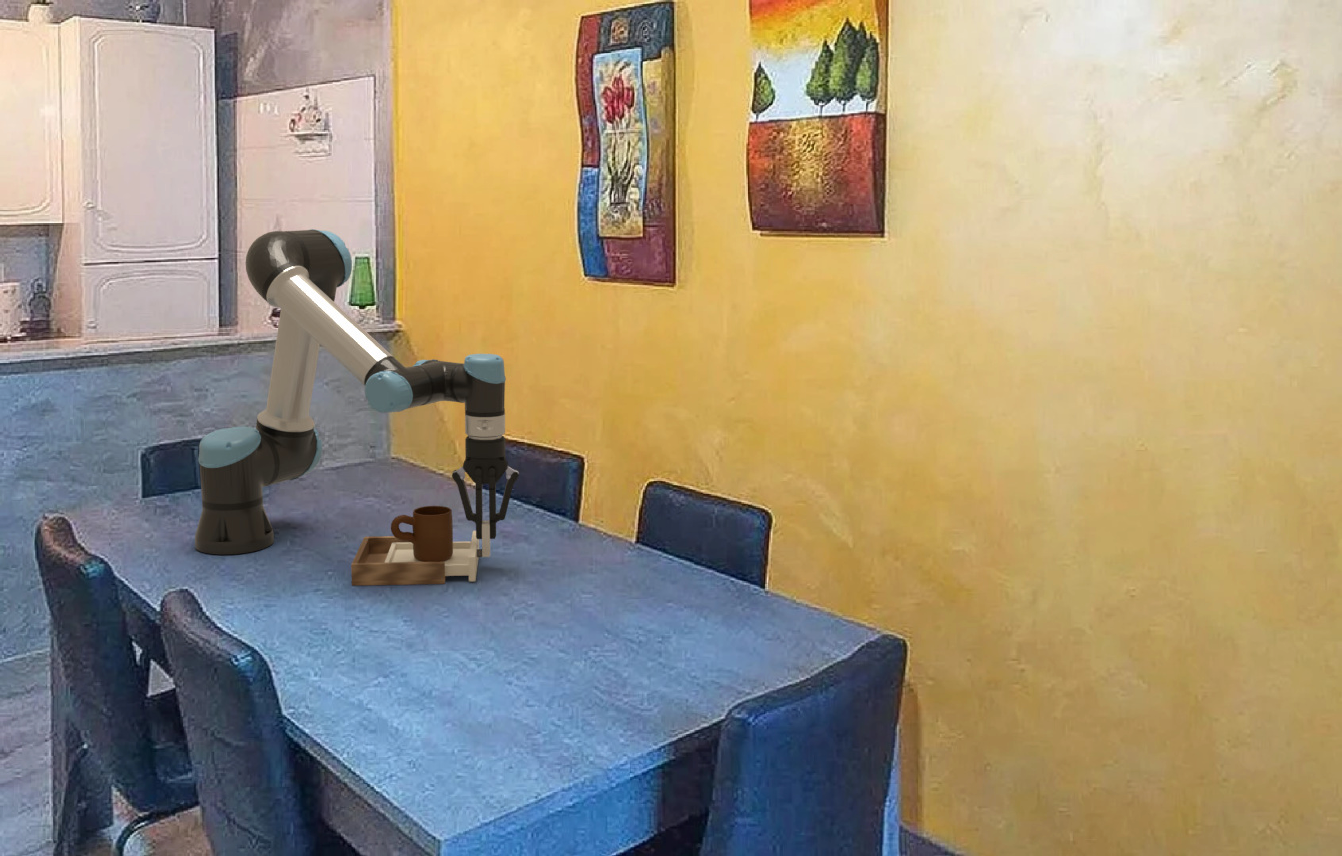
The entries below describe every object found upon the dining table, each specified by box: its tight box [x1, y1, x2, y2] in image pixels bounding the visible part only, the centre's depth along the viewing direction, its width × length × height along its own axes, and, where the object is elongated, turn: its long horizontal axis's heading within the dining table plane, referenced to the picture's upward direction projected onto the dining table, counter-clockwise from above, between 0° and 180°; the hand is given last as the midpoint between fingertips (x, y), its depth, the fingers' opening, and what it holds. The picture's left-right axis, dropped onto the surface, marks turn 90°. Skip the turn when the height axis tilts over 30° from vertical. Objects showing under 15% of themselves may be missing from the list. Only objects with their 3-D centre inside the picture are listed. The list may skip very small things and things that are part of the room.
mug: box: [390, 505, 454, 562], centre depth 231 cm, size 12×8×9 cm, turn 119°
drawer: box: [385, 530, 483, 582], centre depth 232 cm, size 18×18×5 cm
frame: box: [350, 535, 447, 586], centre depth 231 cm, size 17×18×4 cm
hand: (486, 554), depth 233 cm, fingers closed
